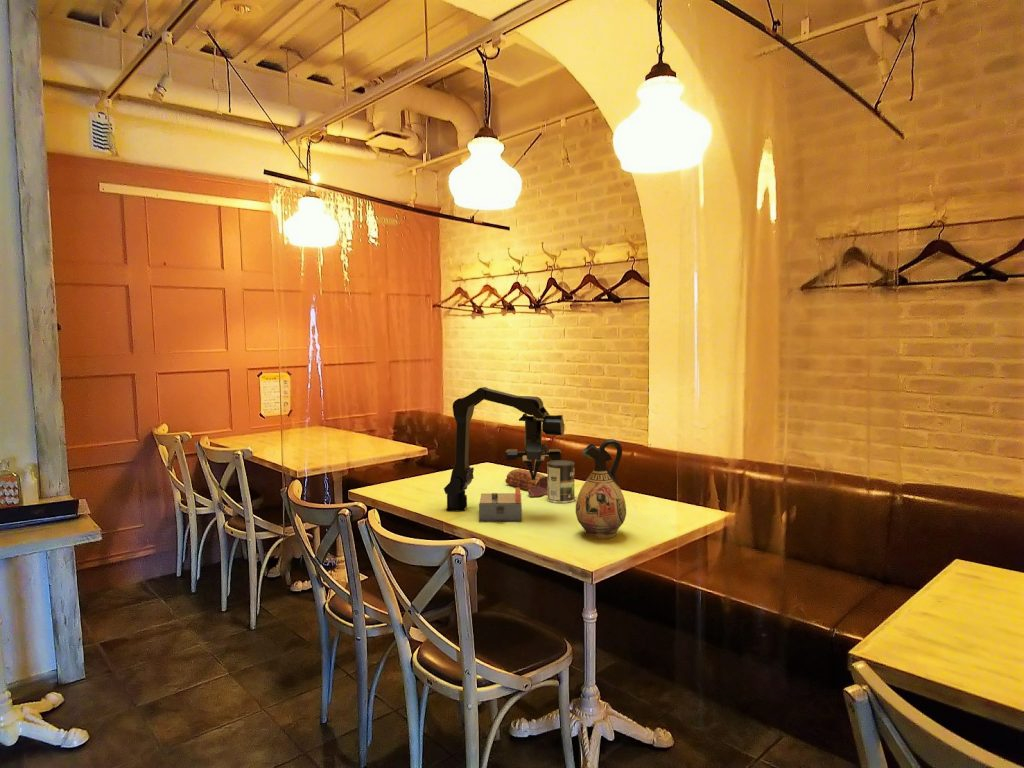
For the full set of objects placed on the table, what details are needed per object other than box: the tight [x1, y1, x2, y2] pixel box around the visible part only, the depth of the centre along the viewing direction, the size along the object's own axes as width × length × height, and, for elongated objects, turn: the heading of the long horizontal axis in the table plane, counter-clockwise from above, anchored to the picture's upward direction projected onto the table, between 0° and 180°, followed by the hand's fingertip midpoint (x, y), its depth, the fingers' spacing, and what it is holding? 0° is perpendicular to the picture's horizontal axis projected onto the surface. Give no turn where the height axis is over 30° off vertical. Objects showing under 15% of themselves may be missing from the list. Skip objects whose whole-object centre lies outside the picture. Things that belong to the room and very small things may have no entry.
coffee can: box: [546, 459, 576, 504], centre depth 239 cm, size 10×10×14 cm
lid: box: [478, 487, 522, 505], centre depth 218 cm, size 14×12×3 cm
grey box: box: [478, 492, 523, 523], centre depth 218 cm, size 14×19×6 cm
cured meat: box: [504, 468, 548, 498], centre depth 255 cm, size 18×25×7 cm
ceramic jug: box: [575, 438, 627, 540], centre depth 196 cm, size 17×15×30 cm
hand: (533, 479), depth 218 cm, fingers closed
